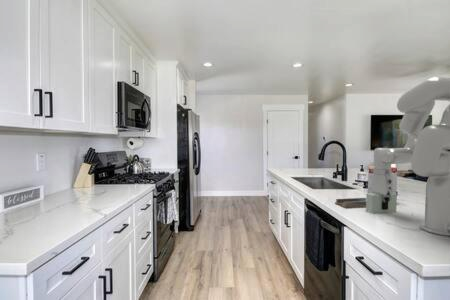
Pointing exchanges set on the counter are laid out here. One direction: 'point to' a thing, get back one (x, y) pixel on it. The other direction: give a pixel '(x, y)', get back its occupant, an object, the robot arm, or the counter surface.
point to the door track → (352, 202)
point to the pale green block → (379, 203)
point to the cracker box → (371, 172)
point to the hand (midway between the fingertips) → (381, 207)
